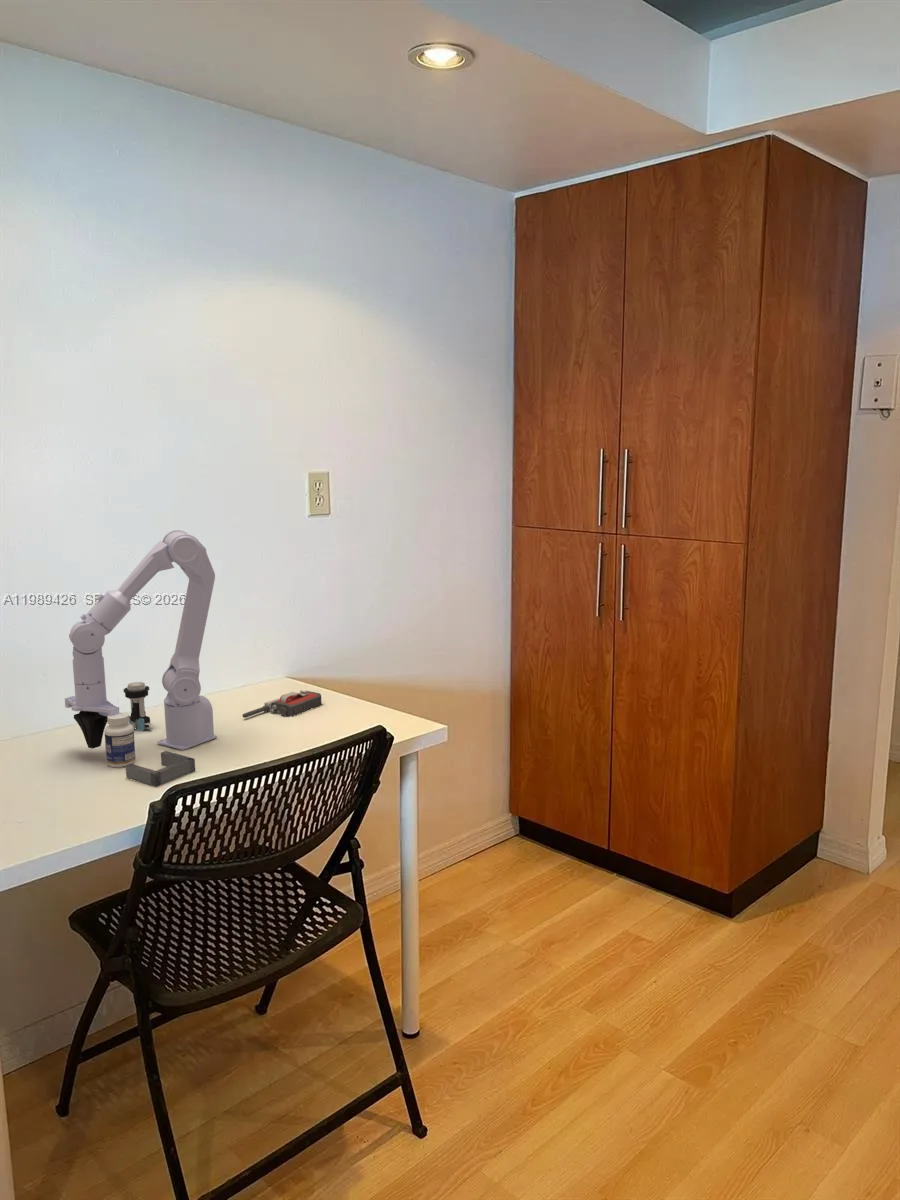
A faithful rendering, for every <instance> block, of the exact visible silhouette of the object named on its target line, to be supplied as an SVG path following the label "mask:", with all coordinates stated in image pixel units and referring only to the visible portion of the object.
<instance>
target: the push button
mask: <svg viewBox="0 0 900 1200" xmlns="http://www.w3.org/2000/svg"><path fill="white" fill-rule="evenodd" d="M149 691H150V687H149V686H148V685H146V683H145V682H143V681H136V682H131V683H128V684H127V686H126V687H125V688H123V693H124V697H125V698H127V699H129V700H130V715H129V719H130V720H129V722H128V723H129V724H131V725H132V726H133V728H134V729H135V728H136V729H135V730H137V729H139V730H138V731H141V730H144V731H146V730H145V729H147V730H153V727H151V726H152V725H153V724H152V723H151V718H150V716H147V715H146V710H145V709H146V708H145V698H146V697H148V696H149Z"/></svg>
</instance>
